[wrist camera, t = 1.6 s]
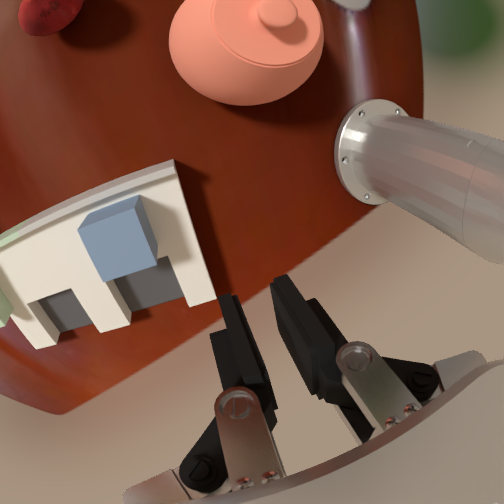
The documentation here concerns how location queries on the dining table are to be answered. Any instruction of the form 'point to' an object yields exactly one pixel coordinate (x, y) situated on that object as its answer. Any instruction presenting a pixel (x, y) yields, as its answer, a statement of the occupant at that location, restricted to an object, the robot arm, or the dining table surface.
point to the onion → (47, 15)
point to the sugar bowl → (246, 47)
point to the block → (119, 239)
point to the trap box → (83, 270)
